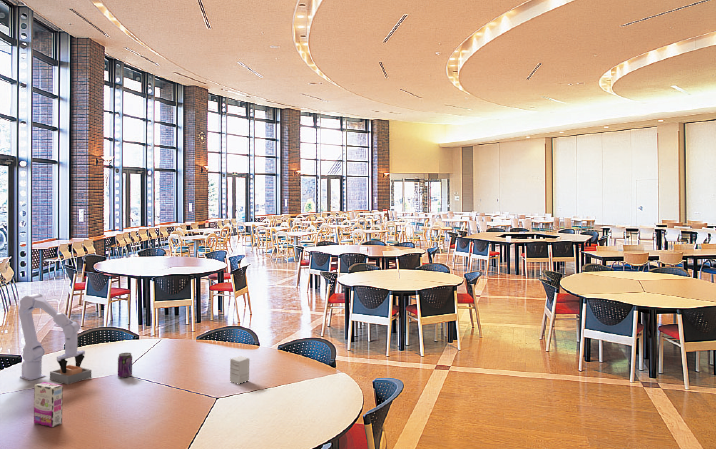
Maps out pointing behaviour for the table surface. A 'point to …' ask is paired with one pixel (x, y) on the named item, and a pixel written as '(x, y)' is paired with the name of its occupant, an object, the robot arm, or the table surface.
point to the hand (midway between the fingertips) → (70, 370)
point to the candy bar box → (48, 404)
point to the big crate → (72, 378)
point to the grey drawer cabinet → (239, 369)
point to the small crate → (71, 370)
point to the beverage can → (124, 365)
